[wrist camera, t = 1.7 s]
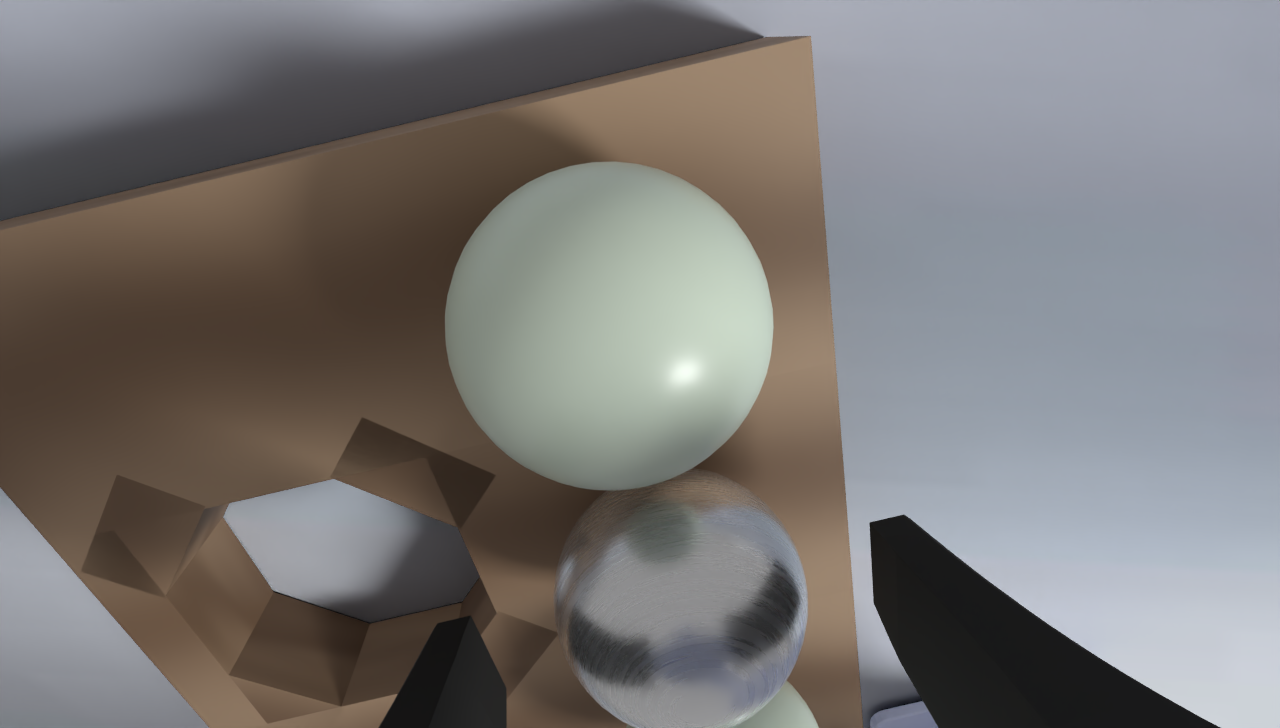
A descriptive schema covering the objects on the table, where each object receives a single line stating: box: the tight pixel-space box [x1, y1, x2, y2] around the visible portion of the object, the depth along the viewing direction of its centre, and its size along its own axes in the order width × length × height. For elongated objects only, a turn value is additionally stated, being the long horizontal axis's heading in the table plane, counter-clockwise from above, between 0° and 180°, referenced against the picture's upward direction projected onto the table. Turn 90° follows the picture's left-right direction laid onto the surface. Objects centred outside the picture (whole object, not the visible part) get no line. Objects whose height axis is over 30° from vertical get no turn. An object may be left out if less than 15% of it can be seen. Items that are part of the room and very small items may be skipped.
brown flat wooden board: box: [0, 36, 863, 728], centre depth 15 cm, size 18×16×2 cm
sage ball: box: [445, 162, 774, 491], centre depth 9 cm, size 5×5×5 cm
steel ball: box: [553, 468, 808, 728], centre depth 12 cm, size 5×5×5 cm
